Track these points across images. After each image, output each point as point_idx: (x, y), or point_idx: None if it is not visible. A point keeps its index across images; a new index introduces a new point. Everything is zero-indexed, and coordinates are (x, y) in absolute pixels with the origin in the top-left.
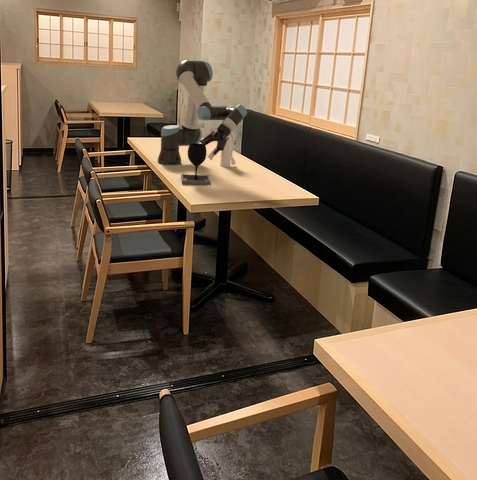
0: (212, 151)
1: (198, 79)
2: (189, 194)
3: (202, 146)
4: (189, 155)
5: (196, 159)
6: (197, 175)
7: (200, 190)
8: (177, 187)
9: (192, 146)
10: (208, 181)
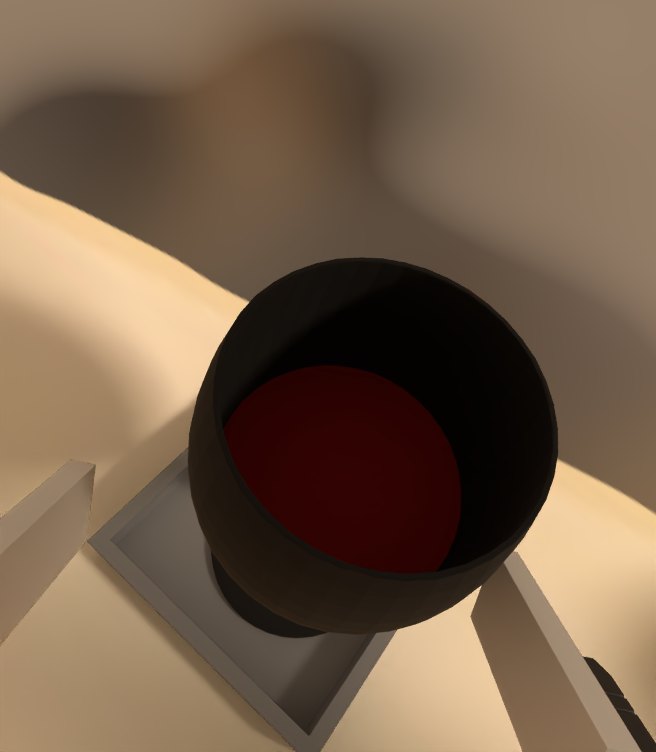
0: (4, 532)
1: None
2: (47, 233)
3: (213, 370)
4: (356, 342)
5: (253, 392)
6: (374, 634)
7: (56, 356)
8: (230, 295)
9: (351, 266)
10: (108, 525)
